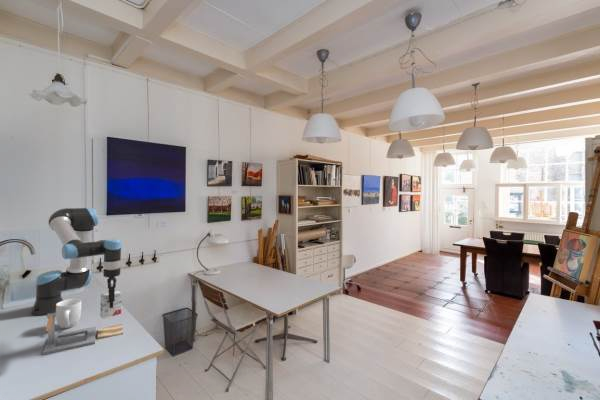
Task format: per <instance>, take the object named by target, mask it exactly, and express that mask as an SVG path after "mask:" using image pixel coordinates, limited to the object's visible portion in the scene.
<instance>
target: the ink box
mask: <svg viewBox="0 0 600 400" xmlns="http://www.w3.org/2000/svg"><path fill="white" fill-rule="evenodd" d="M122 297H123V293H122V292H121V291H119V290H115V296H114V299H115V301H114V313H113V314H108V302H107V301H108V300H109V293H108V292H107V293H102V294H100V308H99V309H100V313H99V315H100V317H101V318H102V319H107V318H110V317H114V316H118V315H121V314H122Z"/></svg>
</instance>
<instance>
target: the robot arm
mask: <svg viewBox="0 0 600 400" xmlns="http://www.w3.org/2000/svg"><path fill="white" fill-rule="evenodd" d="M48 218H49V219H48V222H47V223H48V227H49V228H50V230H52V231H54V232H55V234H56V235H57V237H58V238H59V240H60V242H61V244H62V247H61V255H62V258H63V259H65V260H69V266H67V268H65V269H66V270H65V271H62V270H60V269H59V270H58V269H57V270H50V271H46V272H44V273H41V274H39V275H38V276H37V277H36V281H35V285H36V286H35V288H36V290H35V301H34V303H33V306H32V307H31V315H33V316H47V314H49V313H53V312H55V313H56V304H57V303H59V302H61V301H64V300H63V297H62V292H64V291H70V290H75V289H81V288H85V287H87V286H89V285H90V283H91V281H92V277H93V275H92V274H93V273H92V269H91V268H90V267H89V266H88V264H87V263H88V257H95V256H96V257H97V256H102V255H103V262H102V265H103V277H105V278H107V280H106V281H107V289H108V292H107V293H109V300H108V301H107V302H108V314H113V313H114V301H115V299H114V296H115V292H116V289H115V288H116V285H117V278H116V277H118V276H121V264H122V263H121V262H122V259H121V258H122V257H121V255H122V240H121V239H119V238H108V239H100V240H98V241H91V242H90V237H91V232H92V231H94V229H95V228H94V227H97V226H98V224H99V215H98V213H97V210H95V208H90V207H88V208H87V207H81V208H79V207H75V208H71V207H70V208H69V207H68V208H67V207H66V208H60V209H57V210H56V211H54V212H52V214H51V215H50V217H48Z"/></svg>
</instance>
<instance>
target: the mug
mask: <svg viewBox="0 0 600 400" xmlns="http://www.w3.org/2000/svg"><path fill="white" fill-rule="evenodd" d="M81 314H82V299H79V298H70V299H65V300H63V301H61V302H59V303H57V304H56V316H55V320H56V323H57V324H58V326H59V327H60V328H61V329H70V328H73V327H74V326H76V325H77V324H78V322H79V320H80V318H81Z"/></svg>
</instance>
